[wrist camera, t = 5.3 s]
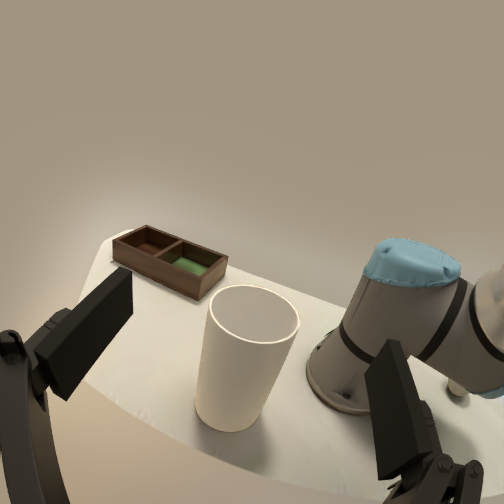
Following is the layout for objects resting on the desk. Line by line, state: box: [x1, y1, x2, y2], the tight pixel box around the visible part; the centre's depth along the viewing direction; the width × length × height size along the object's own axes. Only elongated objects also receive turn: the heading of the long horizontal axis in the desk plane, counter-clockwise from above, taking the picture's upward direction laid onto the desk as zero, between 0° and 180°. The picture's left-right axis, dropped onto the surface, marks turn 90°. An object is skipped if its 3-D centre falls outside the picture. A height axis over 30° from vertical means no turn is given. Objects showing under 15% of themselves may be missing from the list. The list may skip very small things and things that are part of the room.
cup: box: [195, 285, 300, 432], centre depth 27 cm, size 8×8×16 cm
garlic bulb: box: [448, 378, 470, 396], centre depth 35 cm, size 6×7×8 cm
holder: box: [112, 225, 228, 301], centre depth 55 cm, size 11×22×5 cm, turn 70°
